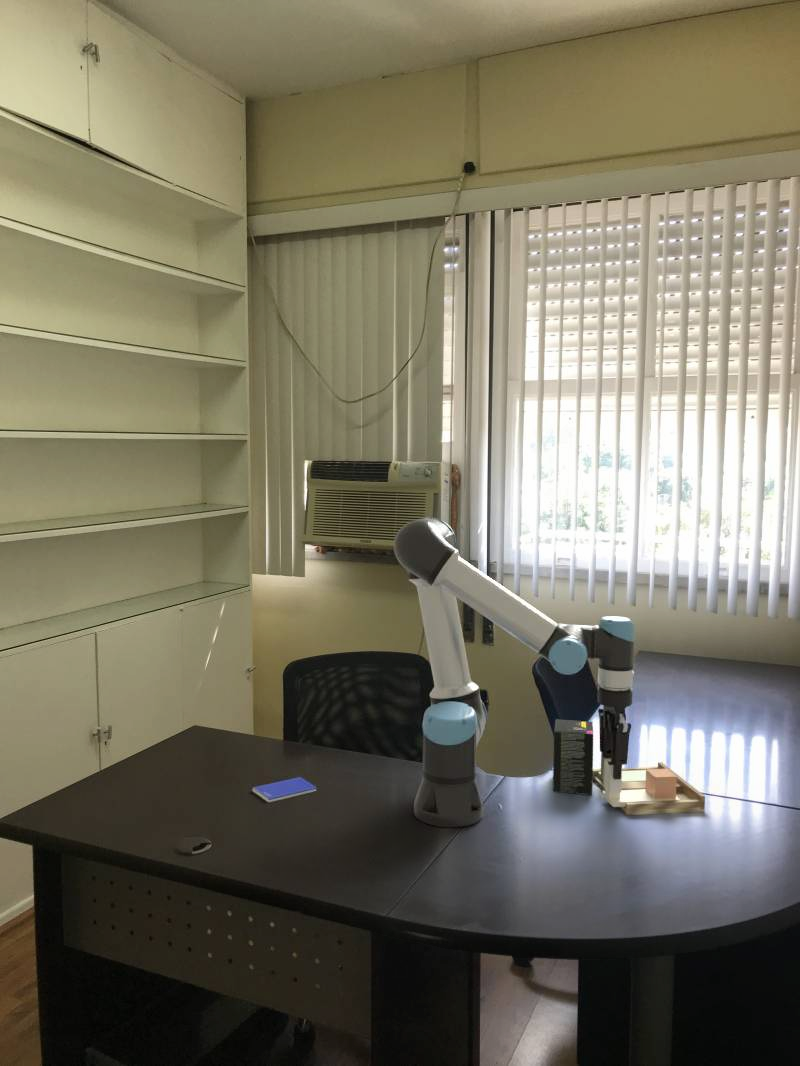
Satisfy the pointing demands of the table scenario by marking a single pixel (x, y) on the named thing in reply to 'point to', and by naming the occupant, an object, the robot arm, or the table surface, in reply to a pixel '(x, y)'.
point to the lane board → (684, 791)
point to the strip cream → (627, 794)
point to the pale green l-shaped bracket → (626, 773)
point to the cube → (660, 783)
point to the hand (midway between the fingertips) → (612, 789)
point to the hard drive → (284, 789)
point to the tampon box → (573, 756)
